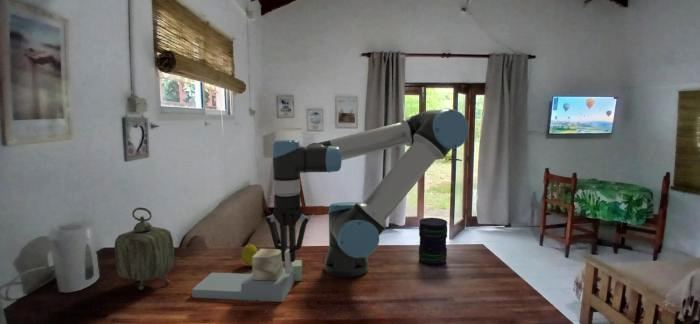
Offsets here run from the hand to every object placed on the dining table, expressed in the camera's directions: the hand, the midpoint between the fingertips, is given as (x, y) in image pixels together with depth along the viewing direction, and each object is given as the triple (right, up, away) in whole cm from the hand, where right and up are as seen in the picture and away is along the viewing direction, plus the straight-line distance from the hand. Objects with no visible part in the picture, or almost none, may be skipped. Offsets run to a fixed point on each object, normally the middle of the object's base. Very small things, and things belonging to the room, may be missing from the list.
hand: (288, 271), depth 109 cm
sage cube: (0, -5, +11) cm, 12 cm away
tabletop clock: (-45, -6, +5) cm, 46 cm away
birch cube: (-6, -1, +1) cm, 7 cm away
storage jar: (+48, -4, +23) cm, 53 cm away
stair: (-14, -6, +2) cm, 15 cm away
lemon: (-17, -4, +21) cm, 27 cm away
